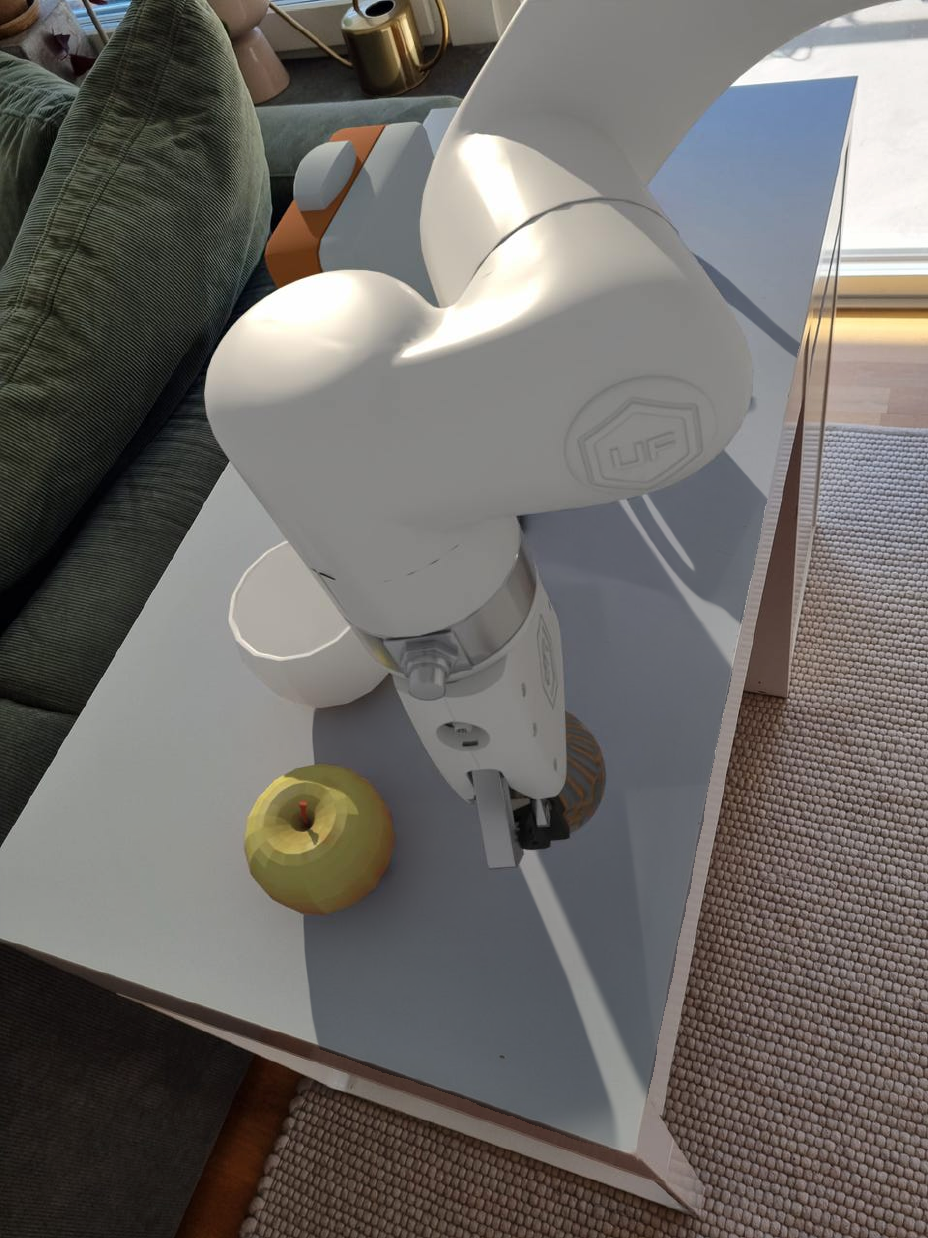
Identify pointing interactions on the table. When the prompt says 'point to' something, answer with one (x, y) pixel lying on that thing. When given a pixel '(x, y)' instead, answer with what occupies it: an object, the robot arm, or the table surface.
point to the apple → (319, 839)
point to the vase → (579, 775)
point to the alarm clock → (358, 208)
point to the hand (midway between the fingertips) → (538, 766)
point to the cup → (298, 634)
